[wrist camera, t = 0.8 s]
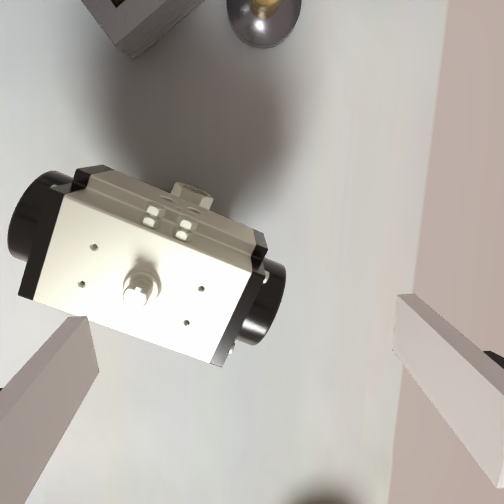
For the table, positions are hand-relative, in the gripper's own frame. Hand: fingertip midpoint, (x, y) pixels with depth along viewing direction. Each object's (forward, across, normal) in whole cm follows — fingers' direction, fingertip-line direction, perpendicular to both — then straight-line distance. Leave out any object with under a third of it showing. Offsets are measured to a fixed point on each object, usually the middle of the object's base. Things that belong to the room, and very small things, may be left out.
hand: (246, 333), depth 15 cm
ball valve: (+23, -6, 0) cm, 24 cm away
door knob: (+23, +3, +19) cm, 30 cm away
